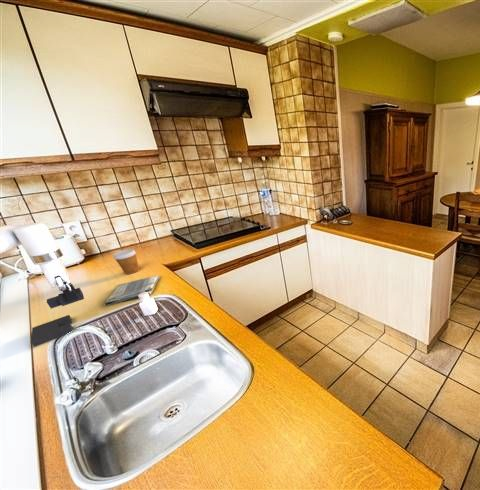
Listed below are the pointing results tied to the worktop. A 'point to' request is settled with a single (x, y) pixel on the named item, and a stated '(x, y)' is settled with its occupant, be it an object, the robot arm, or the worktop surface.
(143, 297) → the pepper shaker
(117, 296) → the dish towel
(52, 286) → the robot arm
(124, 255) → the disposable coffee cup
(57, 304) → the black pad
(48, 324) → the charcoal pad
